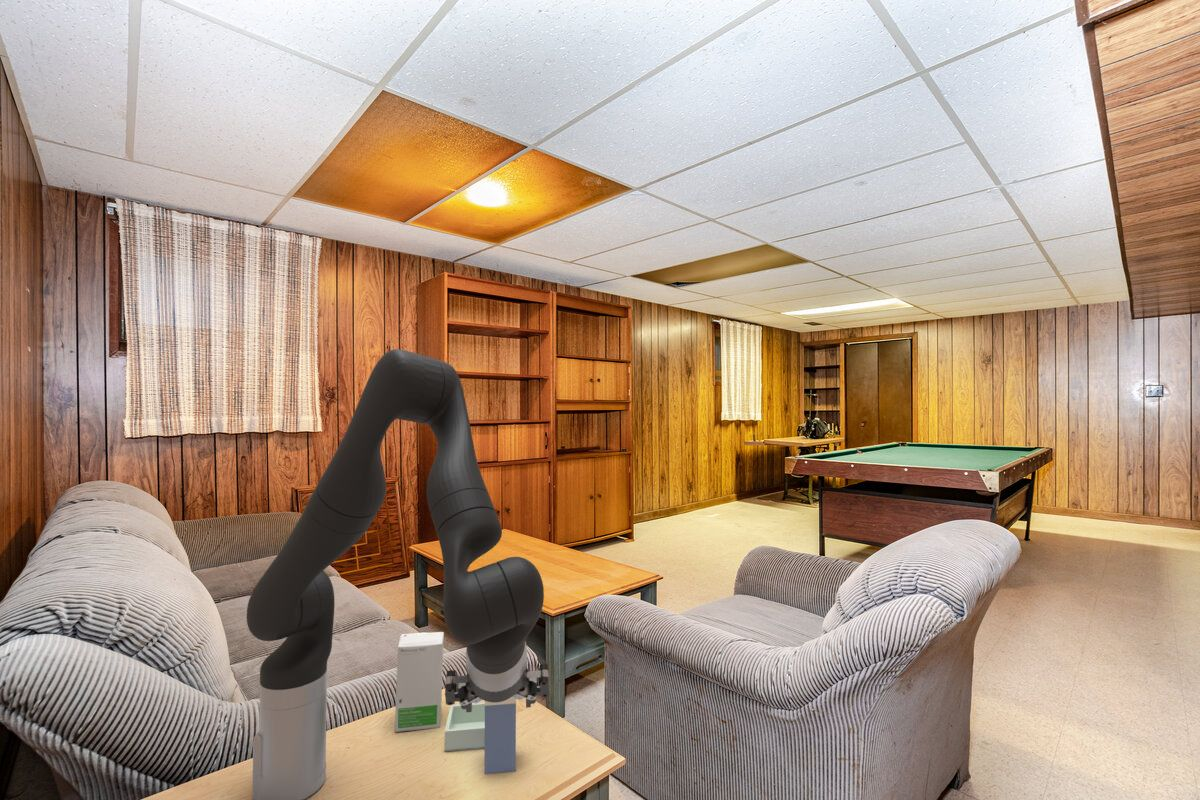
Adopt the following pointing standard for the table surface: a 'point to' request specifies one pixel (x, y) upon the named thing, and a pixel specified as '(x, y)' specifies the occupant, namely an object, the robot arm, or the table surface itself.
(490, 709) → the tea box
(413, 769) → the table surface
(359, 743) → the table surface
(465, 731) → the tray
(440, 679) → the skincare box
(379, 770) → the table surface
